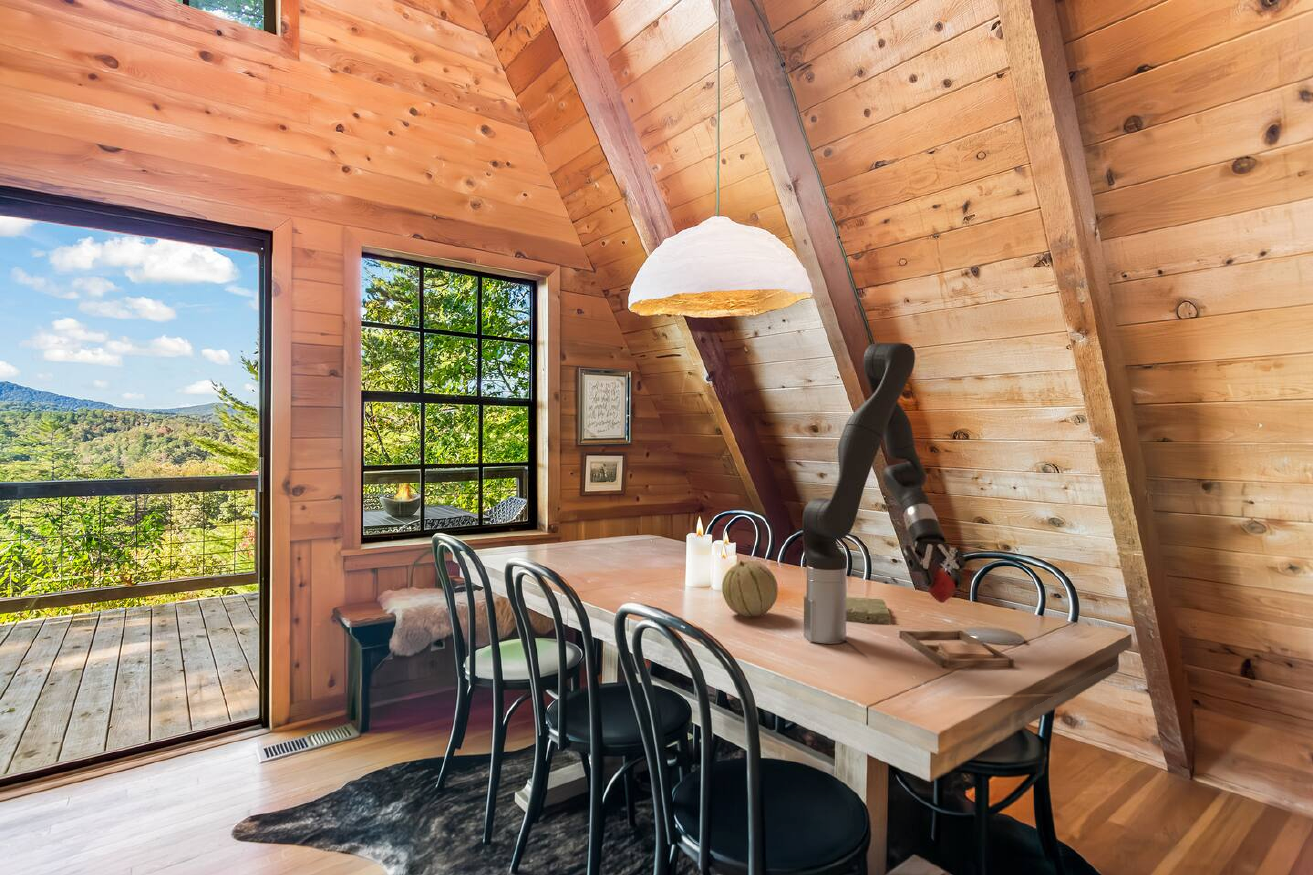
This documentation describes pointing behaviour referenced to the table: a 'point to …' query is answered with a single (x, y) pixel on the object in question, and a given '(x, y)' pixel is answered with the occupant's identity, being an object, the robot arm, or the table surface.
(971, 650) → the offcut top
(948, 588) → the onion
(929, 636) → the brown flat frame
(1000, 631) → the plate
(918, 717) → the table surface
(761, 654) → the table surface
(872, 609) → the green flat block
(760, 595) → the cantaloupe
